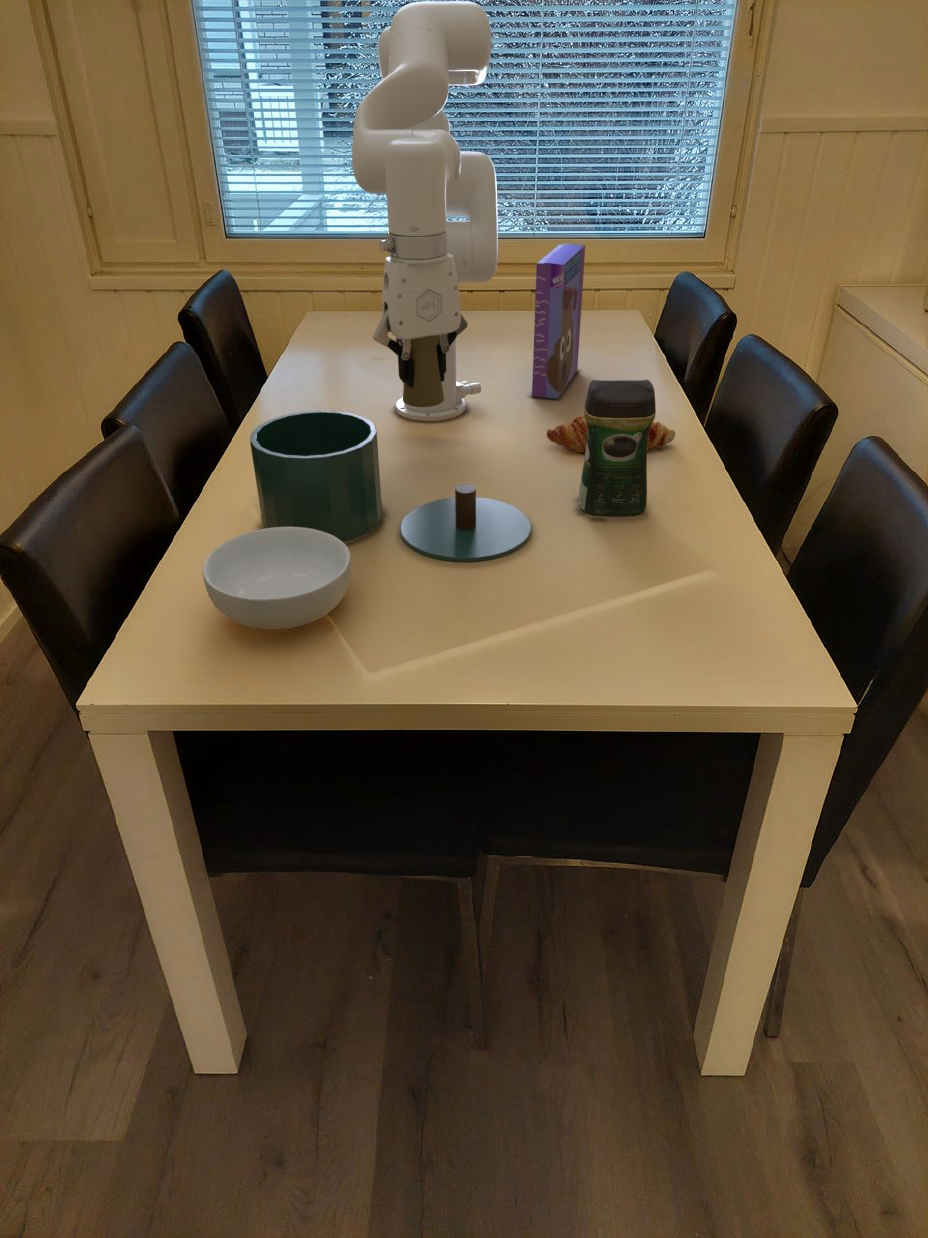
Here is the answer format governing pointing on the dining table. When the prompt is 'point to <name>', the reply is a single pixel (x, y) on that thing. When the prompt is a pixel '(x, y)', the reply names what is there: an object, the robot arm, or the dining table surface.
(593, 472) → the coffee jar
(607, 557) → the dining table surface
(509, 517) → the tin lid
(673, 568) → the dining table surface
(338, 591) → the cereal bowl
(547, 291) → the cereal box
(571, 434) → the croissant
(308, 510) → the tin
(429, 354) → the olive brown pawn
